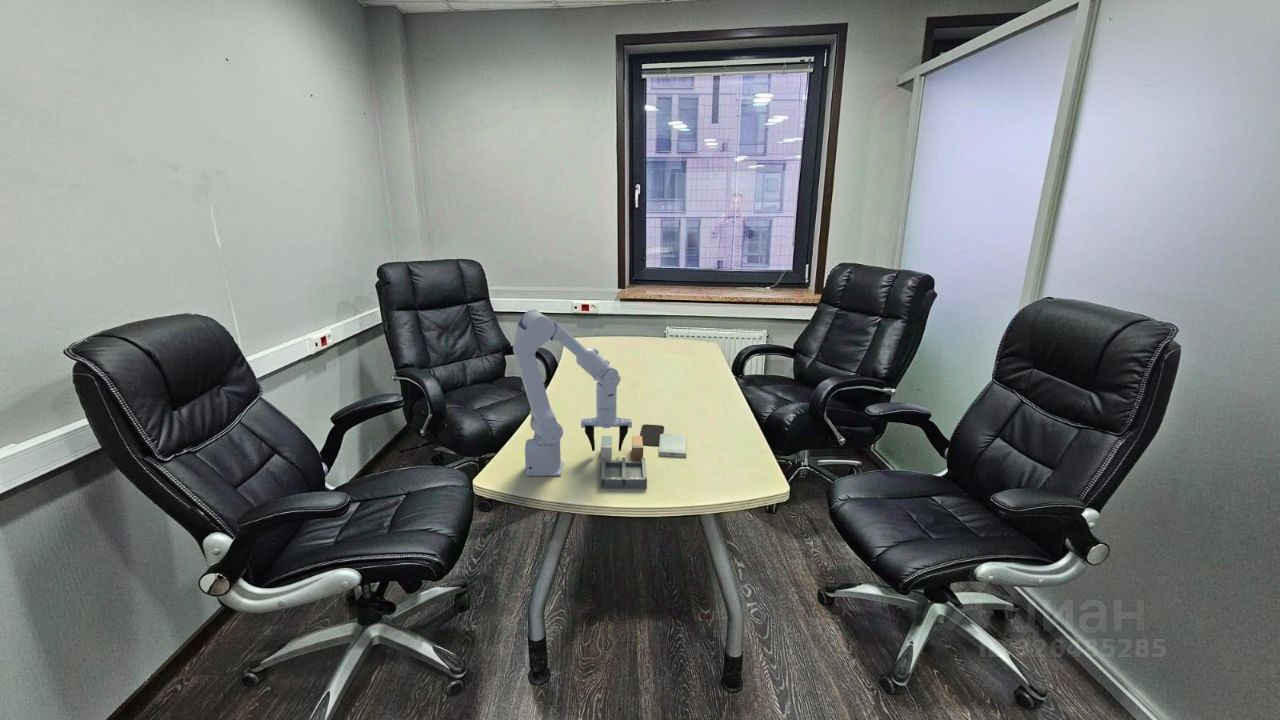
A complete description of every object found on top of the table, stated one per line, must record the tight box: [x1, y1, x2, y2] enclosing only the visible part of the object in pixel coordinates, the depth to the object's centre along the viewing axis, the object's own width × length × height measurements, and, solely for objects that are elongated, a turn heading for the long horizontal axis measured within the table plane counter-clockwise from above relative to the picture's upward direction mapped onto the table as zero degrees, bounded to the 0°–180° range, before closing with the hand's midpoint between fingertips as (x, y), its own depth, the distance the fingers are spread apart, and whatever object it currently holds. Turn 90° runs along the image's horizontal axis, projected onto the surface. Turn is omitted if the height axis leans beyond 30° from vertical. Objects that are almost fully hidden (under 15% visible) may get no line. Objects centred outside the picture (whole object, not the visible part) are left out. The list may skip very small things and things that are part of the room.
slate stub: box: [600, 435, 613, 463], centre depth 152 cm, size 3×8×5 cm, turn 2°
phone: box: [639, 423, 665, 447], centre depth 167 cm, size 7×1×15 cm
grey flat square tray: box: [600, 457, 648, 489], centre depth 141 cm, size 12×12×3 cm
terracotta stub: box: [631, 435, 644, 461], centre depth 153 cm, size 3×8×5 cm, turn 2°
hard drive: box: [658, 433, 687, 458], centre depth 159 cm, size 2×8×12 cm
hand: (606, 449), depth 152 cm, fingers open, 7 cm apart
